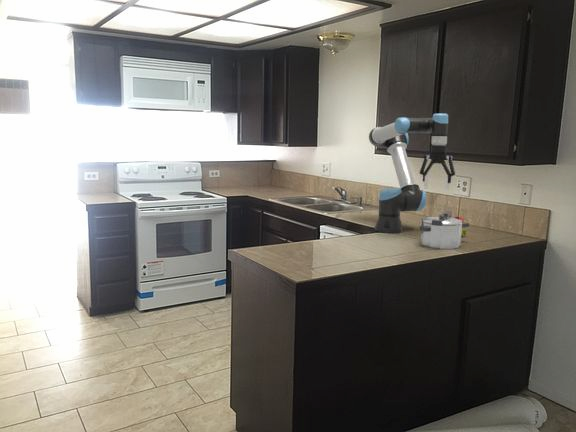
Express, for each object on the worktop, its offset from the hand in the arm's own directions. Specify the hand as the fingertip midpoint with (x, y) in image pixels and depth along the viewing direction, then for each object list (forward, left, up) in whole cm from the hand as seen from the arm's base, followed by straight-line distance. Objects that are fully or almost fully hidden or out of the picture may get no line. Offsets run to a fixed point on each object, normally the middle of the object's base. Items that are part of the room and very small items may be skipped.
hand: (436, 188), depth 254 cm
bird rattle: (+1, +15, -26) cm, 30 cm away
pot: (+13, -5, -26) cm, 29 cm away
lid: (+11, -5, -14) cm, 19 cm away
